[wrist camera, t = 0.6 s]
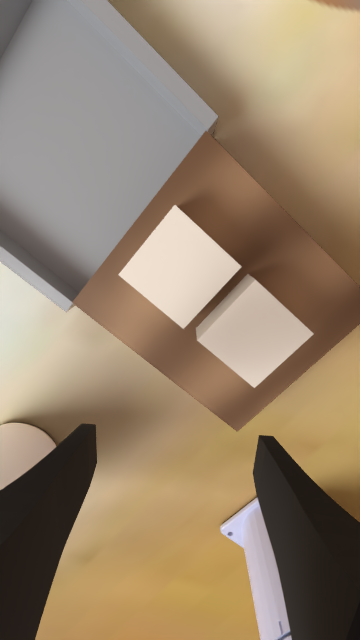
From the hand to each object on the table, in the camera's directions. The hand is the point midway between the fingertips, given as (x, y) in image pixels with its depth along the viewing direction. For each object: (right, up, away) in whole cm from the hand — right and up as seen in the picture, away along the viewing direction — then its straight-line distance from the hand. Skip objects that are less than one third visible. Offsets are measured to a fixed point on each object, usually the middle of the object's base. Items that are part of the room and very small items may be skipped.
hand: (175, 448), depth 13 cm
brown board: (+3, +8, +8) cm, 11 cm away
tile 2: (0, +9, +4) cm, 10 cm away
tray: (-7, +16, +5) cm, 18 cm away
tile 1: (+4, +5, +5) cm, 9 cm away
